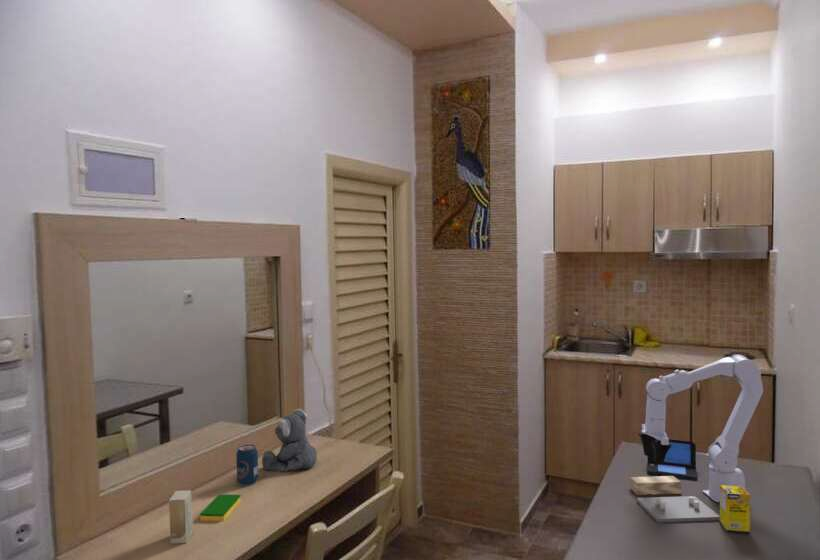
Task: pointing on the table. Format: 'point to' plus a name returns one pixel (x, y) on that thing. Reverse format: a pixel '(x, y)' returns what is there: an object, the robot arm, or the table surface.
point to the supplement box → (735, 509)
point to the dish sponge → (220, 507)
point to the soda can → (247, 465)
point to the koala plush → (291, 445)
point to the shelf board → (655, 485)
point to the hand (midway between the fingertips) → (653, 459)
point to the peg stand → (677, 509)
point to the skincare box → (180, 516)
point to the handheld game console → (676, 461)
